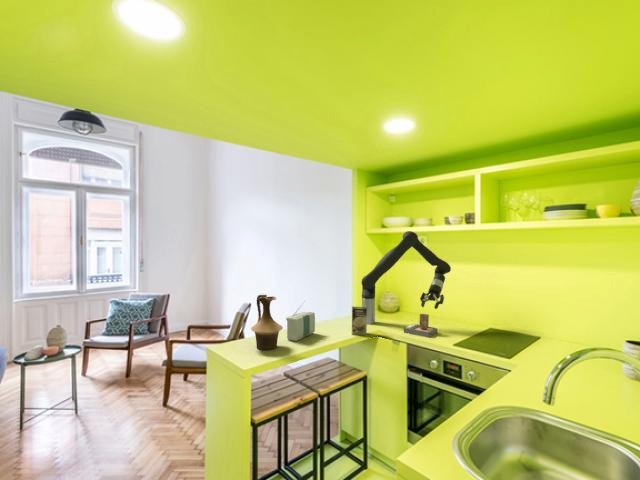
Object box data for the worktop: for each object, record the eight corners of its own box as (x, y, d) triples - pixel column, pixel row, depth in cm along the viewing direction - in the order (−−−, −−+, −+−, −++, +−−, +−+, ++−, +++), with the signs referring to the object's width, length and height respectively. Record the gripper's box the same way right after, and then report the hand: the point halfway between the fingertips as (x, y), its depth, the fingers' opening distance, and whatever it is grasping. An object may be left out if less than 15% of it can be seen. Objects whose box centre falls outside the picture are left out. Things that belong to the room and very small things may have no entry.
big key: (412, 333, 197) (412, 329, 197) (420, 329, 205) (420, 326, 205) (426, 335, 191) (426, 332, 191) (434, 332, 199) (434, 328, 199)
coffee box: (351, 334, 194) (351, 308, 195) (351, 332, 201) (351, 306, 201) (366, 335, 193) (366, 308, 194) (366, 332, 200) (366, 306, 200)
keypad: (403, 332, 200) (403, 326, 200) (413, 328, 209) (413, 322, 209) (428, 337, 189) (428, 331, 189) (437, 333, 198) (437, 326, 198)
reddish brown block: (419, 328, 198) (419, 314, 198) (422, 328, 201) (422, 313, 201) (425, 330, 195) (425, 315, 196) (428, 329, 198) (428, 314, 199)
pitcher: (243, 347, 170) (243, 294, 170) (267, 340, 183) (267, 291, 183) (265, 354, 159) (265, 298, 159) (289, 346, 172) (289, 294, 172)
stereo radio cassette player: (297, 342, 179) (297, 306, 180) (285, 340, 183) (285, 305, 184) (315, 333, 198) (315, 301, 198) (304, 331, 202) (304, 300, 202)
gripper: (424, 283, 215) (416, 302, 206) (445, 284, 205) (438, 305, 197) (427, 290, 219) (420, 309, 210) (448, 292, 209) (441, 312, 201)
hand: (428, 307), depth 204 cm, fingers open, 8 cm apart
